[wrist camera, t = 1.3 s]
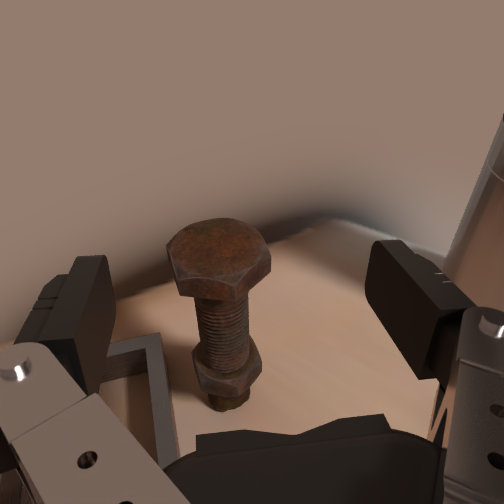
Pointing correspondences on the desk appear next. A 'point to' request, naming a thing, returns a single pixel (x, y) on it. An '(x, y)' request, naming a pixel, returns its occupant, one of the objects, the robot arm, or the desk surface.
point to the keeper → (152, 360)
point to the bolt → (221, 302)
